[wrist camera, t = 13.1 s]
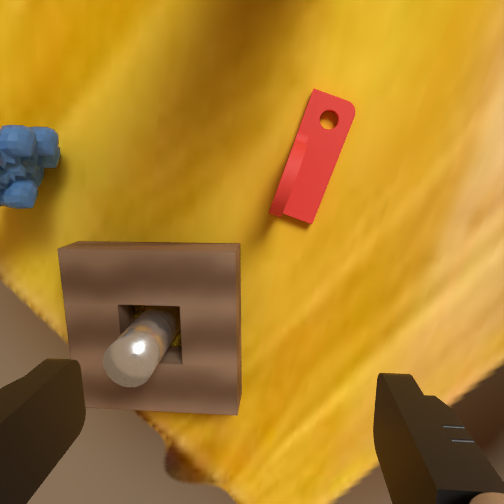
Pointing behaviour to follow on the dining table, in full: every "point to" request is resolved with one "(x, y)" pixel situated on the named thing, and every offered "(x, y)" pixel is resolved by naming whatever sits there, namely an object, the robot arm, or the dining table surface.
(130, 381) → the peg
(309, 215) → the bracket
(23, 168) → the grapes
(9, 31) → the dining table surface
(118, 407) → the socket block
